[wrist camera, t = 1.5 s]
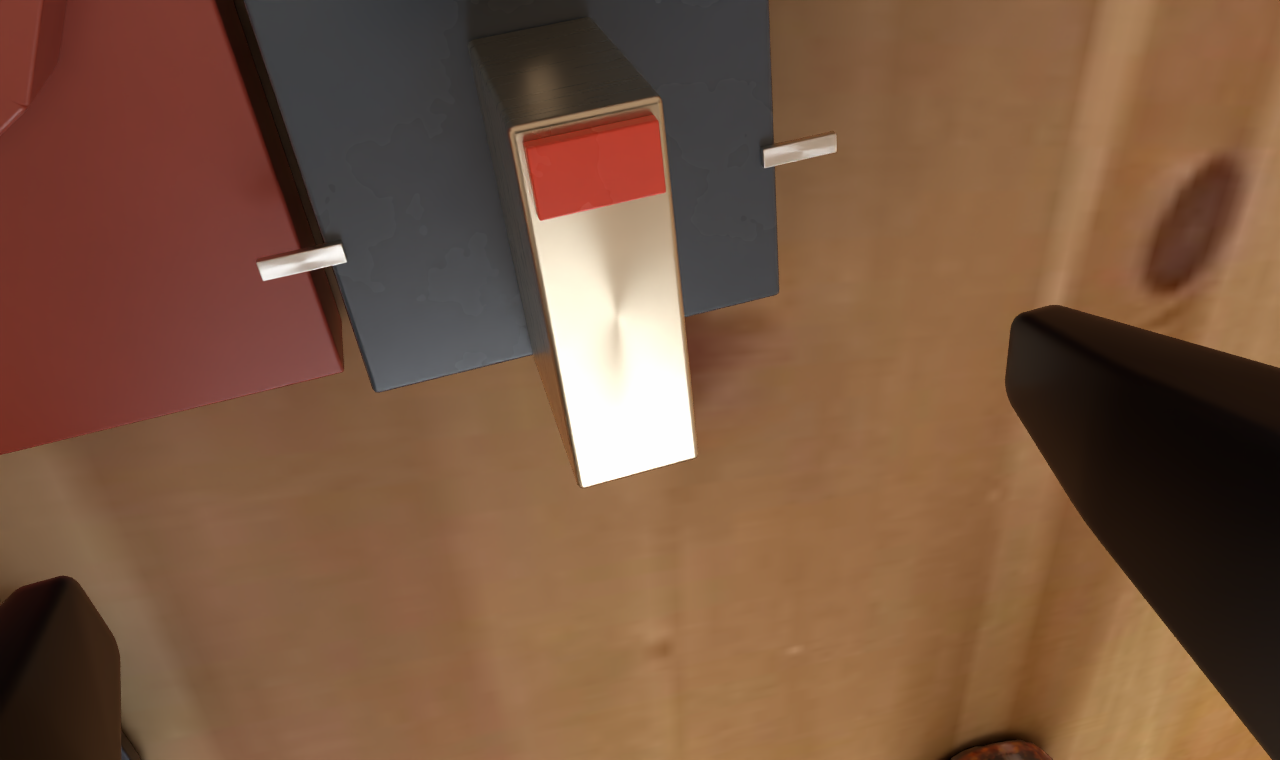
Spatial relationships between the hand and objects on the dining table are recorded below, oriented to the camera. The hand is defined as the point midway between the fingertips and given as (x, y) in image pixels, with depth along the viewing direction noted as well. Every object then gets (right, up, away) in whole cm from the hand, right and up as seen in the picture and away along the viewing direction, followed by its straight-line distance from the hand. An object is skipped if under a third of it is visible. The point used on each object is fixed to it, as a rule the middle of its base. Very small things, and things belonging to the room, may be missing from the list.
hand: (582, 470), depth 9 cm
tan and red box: (-1, +4, +8) cm, 9 cm away
